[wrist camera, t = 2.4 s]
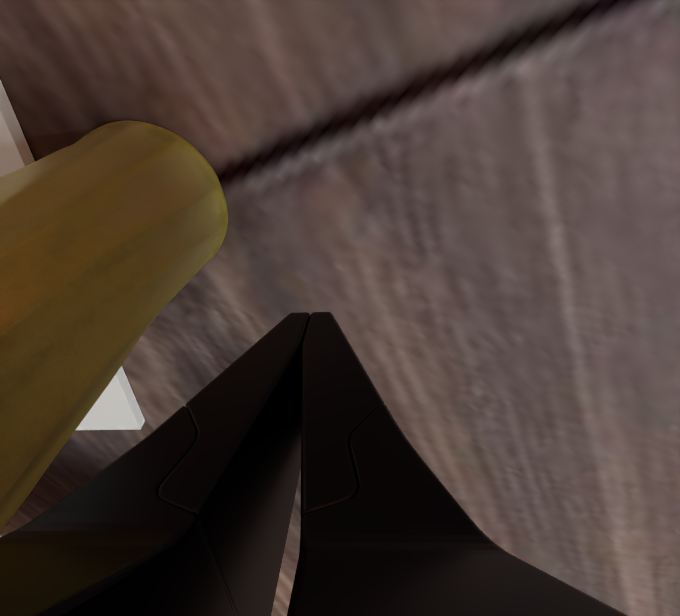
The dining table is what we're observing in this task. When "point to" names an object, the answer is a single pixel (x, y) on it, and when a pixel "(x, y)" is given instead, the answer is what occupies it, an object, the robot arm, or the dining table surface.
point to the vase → (90, 277)
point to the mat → (118, 399)
